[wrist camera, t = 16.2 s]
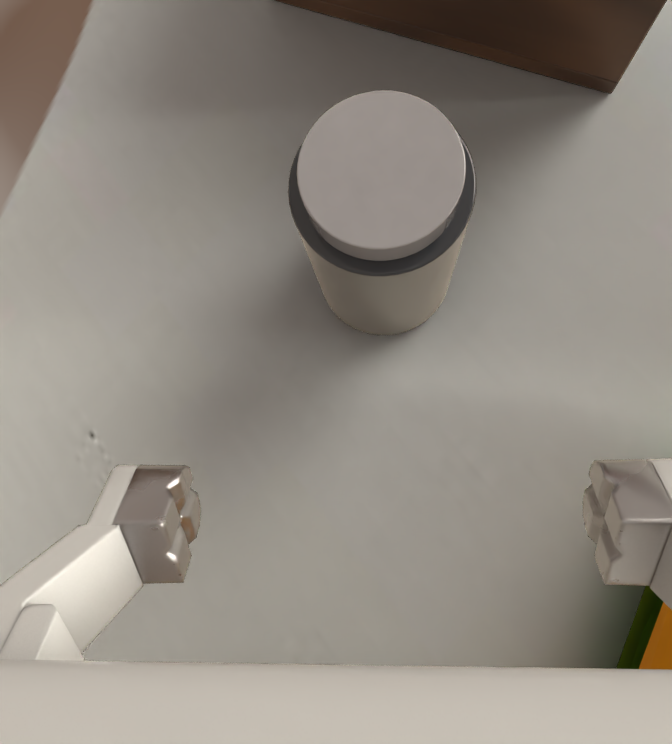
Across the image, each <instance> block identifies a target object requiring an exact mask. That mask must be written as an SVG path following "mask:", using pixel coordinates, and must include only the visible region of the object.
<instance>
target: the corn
mask: <svg viewBox="0 0 672 744" xmlns="http://www.w3.org/2000/svg"><path fill="white" fill-rule="evenodd" d="M617 669H669V670H672V610H671V609H670V608H669V607H668V606H667V605H666V604H665V603H664V602H663V601H662V600H661V599H660V598H659V597H658V596H657V595H656V594H655V593H654V592H653V591H652V590H651V589H650V586H645V589H644V592H643V595H642V597H641V600H640V603H639V606H638V609H637V612H636V614H635V617H634V620H633V623H632V626H631V628H630V631H629V634H628V637H627V640H626V642H625V645H624V648H623V651H622V654H621V657H620V659H619V662H618V665H617Z"/></svg>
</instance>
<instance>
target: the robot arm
mask: <svg viewBox="0 0 672 744" xmlns="http://www.w3.org/2000/svg"><path fill="white" fill-rule="evenodd" d="M589 477H590V479H591V482H592V485H591V486H589V487H588V488H587V489H586V490H585V492H584V497H583V519H584V525H585V528H586V532H587V535H588V537H589V538H590V539H591V540H593V541H594V542H595V543H596V544H597V547H596V551H595V555H594V556H595V559H596V562H597V565H598V568H599V571H600V574H601V577H602V580H603V582H604V584H607V585H640V586H650V589H651V590H652V591H653V592H654V593H655V594H656V595H657V596H658V597H659V598H660V599H661V600H662V601H663V602H664V603H665V604H666V605H667V606H668V607H669V608H670V609H671V610H672V458H669V459H647V460H645V459H625V460H594V461H593V463H592V464H591V467H590V471H589ZM192 481H193V476H192V473H191V470H190V467H189V466H186V465H117V466H116V467H114V468H113V469H112V470H111V472H110V475H109V477H108V479H107V481H106V483H105V485H104V487H103V489H102V491H101V494H100V496H99V498H98V500H97V502H96V504H95V506H94V508H93V510H92V512H91V515H90V517H89V519H88V521H87V523H86V525H78V526H77V527H76V528H74V529H73V530H72V531H70V532H69V533H68V534H67V535H65V536H64V537H63V538H61V539H60V540H59V541H57V542H56V543H55V544H53V545H52V546H51V547H49V548H48V549H47V550H45V551H44V552H43V553H42V554H40V555H39V556H38V557H36V558H35V559H34V560H32V561H31V562H30V563H28V564H27V565H26V566H24V567H23V568H22V569H21V570H19V571H18V572H17V573H15V574H14V575H13V576H11V577H10V578H9V579H7V580H6V581H5V582H3V583H2V584H1V585H0V744H672V670H669V669H604V668H533V667H459V666H395V665H332V664H268V663H202V662H136V661H85V659H84V657H83V656H82V654H81V653H82V652H83V651H84V650H85V649H86V648H87V647H88V646H89V645H90V643H91V642H92V641H93V640H94V639H95V638H96V637H97V636H98V635H99V634H100V633H101V632H102V630H103V629H104V628H105V627H106V626H107V625H108V624H109V623H110V622H111V621H112V620H113V618H114V617H115V616H116V615H117V614H118V613H119V612H120V611H121V610H122V609H123V608H124V607H125V605H126V604H127V603H128V602H129V601H130V600H131V599H132V598H133V597H134V596H135V595H136V593H137V592H138V591H139V590H140V589H141V588H142V587H143V584H146V583H184V580H185V576H186V573H187V570H188V566H189V563H190V559H191V556H192V555H191V552H190V548H189V544H190V543H191V542H192V541H193V540H194V539H196V538H197V535H198V531H199V527H200V518H201V507H200V500H199V496H198V493H197V492H196V491H194V490H193V489H192V488H191V484H192Z"/></svg>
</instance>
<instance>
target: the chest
mask: <svg viewBox="0 0 672 744" xmlns="http://www.w3.org/2000/svg"><path fill="white" fill-rule="evenodd" d="M276 1H279V2H283V3H286V4H290V5H294V6H297V7H301V8H304V9H308V10H312V11H315V12H319V13H322V14H326V15H329V16H333V17H337V18H340V19H344V20H347V21H351V22H355V23H358V24H362V25H365V26H369V27H373V28H376V29H380V30H383V31H387V32H391V33H394V34H398V35H401V36H405V37H408V38H412V39H416V40H419V41H423V42H426V43H430V44H434V45H437V46H441V47H444V48H448V49H452V50H455V51H459V52H462V53H466V54H470V55H473V56H477V57H480V58H484V59H487V60H491V61H495V62H498V63H502V64H505V65H509V66H513V67H516V68H520V69H523V70H527V71H531V72H534V73H538V74H541V75H545V76H549V77H552V78H556V79H559V80H563V81H566V82H570V83H574V84H577V85H581V86H584V87H588V88H592V89H595V90H599V91H602V92H606V93H612V92H613V91H614V89H615V87H616V86H617V84H618V82H619V80H620V79H621V77H622V75H623V74H624V72H625V70H626V69H627V67H628V65H629V64H630V62H631V60H632V59H633V57H634V55H635V53H636V52H637V50H638V48H639V47H640V45H641V43H642V42H643V40H644V38H645V37H646V35H647V33H648V31H649V30H650V28H651V26H652V25H653V23H654V21H655V20H656V18H657V16H658V14H659V13H660V11H661V9H662V8H663V6H664V4H665V3H666V1H667V0H276Z"/></svg>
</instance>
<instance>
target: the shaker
mask: <svg viewBox="0 0 672 744" xmlns="http://www.w3.org/2000/svg"><path fill="white" fill-rule="evenodd" d="M288 197H289V205H290V209H291V214H292V217H293V219H294V222H295V225H296V227H297V230H298V232H299V235H300V237H301V240H302V242H303V245H304V247H305V250H306V252H307V255H308V257H309V260H310V262H311V265H312V267H313V270H314V272H315V275H316V277H317V280H318V282H319V285H320V287H321V290H322V292H323V295H324V297H325V299H326V301H327V303H328V305H329V307H330V308H331V309H332V311H333V312H334V313H335V314H336V315H337V316H338V317H339V318H340V319H341V320H342V321H343V322H345V323H346V324H347V325H349V326H351V327H352V328H354V329H357V330H359V331H361V332H365V333H368V334H373V335H395V334H400V333H404V332H407V331H409V330H412V329H414V328H416V327H418V326H419V325H421V324H422V323H424V322H425V321H426V320H428V319H429V318H430V317H431V316H432V315H433V314H434V313H435V312H436V310H437V309H438V308H439V306H440V305H441V303H442V301H443V300H444V298H445V295H446V293H447V290H448V287H449V284H450V281H451V277H452V274H453V271H454V268H455V265H456V262H457V258H458V255H459V252H460V249H461V246H462V243H463V239H464V236H465V233H466V230H467V227H468V224H469V220H470V217H471V214H472V211H473V207H474V203H475V197H476V173H475V167H474V163H473V160H472V157H471V154H470V152H469V150H468V148H467V145H466V144H465V142H464V141H463V139H462V138H461V136H460V135H459V133H458V132H457V131H456V130H455V128H454V126H453V125H452V123H451V122H450V121H449V120H448V119H447V117H446V116H445V115H444V114H443V113H442V112H441V111H439V110H438V109H437V108H436V107H434V106H433V105H432V104H430V103H429V102H427V101H425V100H423V99H421V98H419V97H416V96H414V95H411V94H408V93H403V92H399V91H390V90H378V91H370V92H364V93H361V94H357V95H354V96H351V97H349V98H346V99H344V100H343V101H341V102H339V103H337V104H335V105H334V106H333V107H331V108H330V109H329V110H327V111H326V112H325V113H324V114H323V115H322V116H321V117H320V118H319V119H318V120H317V121H316V122H315V124H314V125H313V126H312V128H311V129H310V131H309V132H308V134H307V135H306V138H305V140H304V141H303V143H302V145H301V146H300V148H299V150H298V152H297V154H296V156H295V158H294V161H293V164H292V167H291V171H290V176H289V184H288Z"/></svg>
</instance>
